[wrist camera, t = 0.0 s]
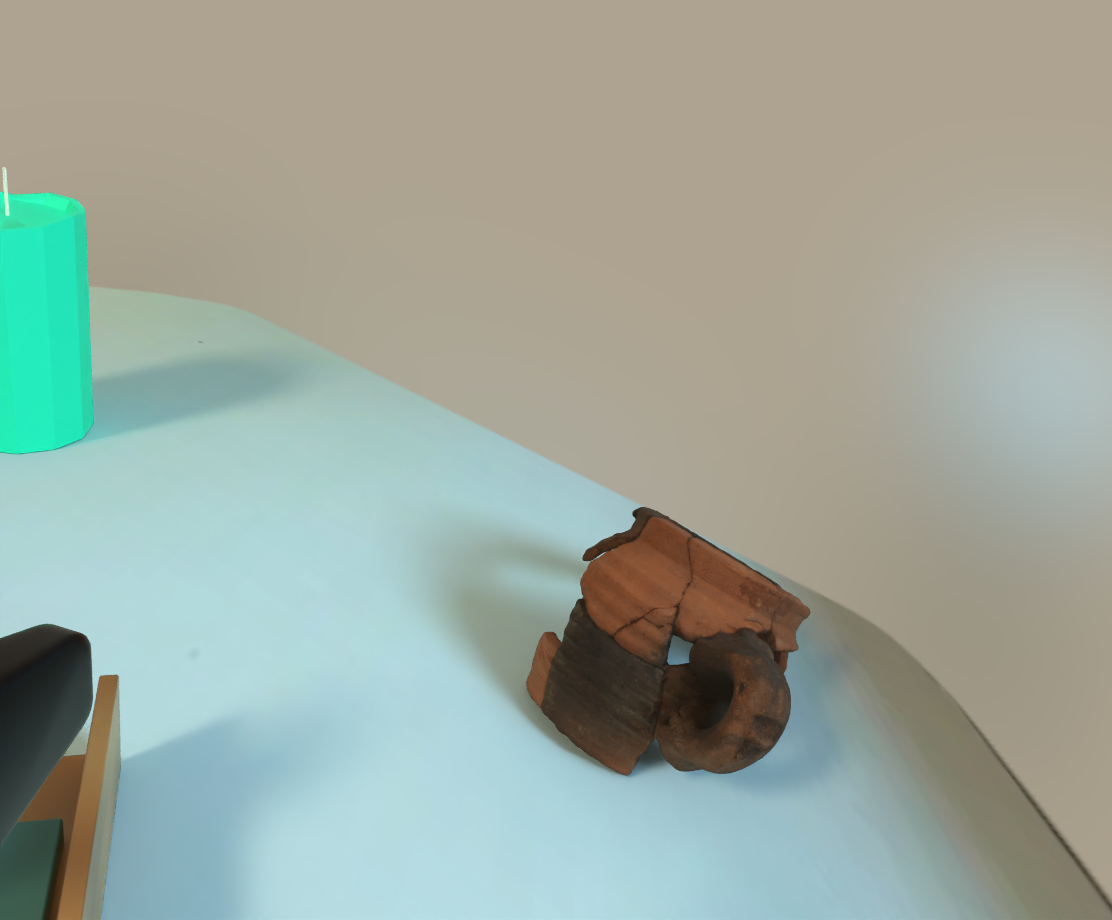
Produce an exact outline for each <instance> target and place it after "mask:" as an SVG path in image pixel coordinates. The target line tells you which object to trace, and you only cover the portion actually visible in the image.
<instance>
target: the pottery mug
mask: <svg viewBox="0 0 1112 920" xmlns="http://www.w3.org/2000/svg"><path fill="white" fill-rule="evenodd" d="M632 514H633V516H634V517H635V519H636V520H635V522H634V524H633V525H632V527H631V529H630V530H628V531H625V532H623V533H616V534H614V535H613V536H611V537H609V538H606V539H603V540H601V541H600V542H599V543H597V544H596V545H595V546H593V547H591V548H589V549H587V550H586V552H585V554H584V555H583V558H582V559H583V561H591V560H593V559H595V558H596V557H597V556H599V555H601V554H602V553H604V552H606V553H604V554H603V555H602V556H600V557H599V558H597V559H595V560H593V561H591V562H590V564H589V565H588V568H587V570H586V572H585V573H584V574H583V577H582V578H581V581H580V585H581V590H582V594H583V598H582V599H578V600H577V602H576V605H575V607H574V609H573V610H572V612H571V614H570V620H569V623H568V625H567V627H566V628H565V631H564V637H563V641H562V643H561V641H560V640H559V639H558V638H557V636H556V634H555V633H554V632H545V633H544V634H543V635H542V637H541V639H540V641H539V643H538V646H537V649H536V653H535V656H534V660H533V663H532V669H531V672H530V674H529V676H528V679H527V681H526V684H527V689H528V692H529V693H530V695H531V698H532V699H533V700H534V701H535V702H536V703H537V705H538V706H539V707H540V708H541V709H542V711H543V713H544V714H545V715H546V716H547V717H548V718H549V719H550V720H551V721H552V722H553V723H554V724H555V726H556V728H557V729H558V730H559V731H560V732H561V733H562V734H564V735H566V736H567V737H568V738H569V739H570V740H571V741H572V742H573V743H574V744H575V745H576V746H577V747H579V748H581V749H582V750H583V751H584V752H585V753H587V754H588V755H590V756H591V757H593V758H595V759H597V760H598V761H600V762H601V763H602V764H604V765H606V766H607V767H609V768H611V769H613V770H615V771H616V772H618V773H620V774H622V775H629V774H630V773H631V772H632V770H633V769H634V767H635V765H636V763H637V761H638V759H639V757H640V755H641V754H643V753H645V752H646V750H647V749H648V747H649V745H650V744H651V743H652V742H653V741H654V740H655V739H657V741H658V743H659V747H660V749H661V751H662V754H663V756H664V758H665V759H666V761H667V762H668V763H670V764H671V765H672V766H673V767H674V768H675V769H677V770H679V771H688V772H689V771H695V770H701V769H703V770H705V771H708V772H712V773H716V774H726V773H732V772H736V771H738V770H741V769H743V768H745V767H747V766H749V765H751V764H753V763H755V762H756V761H758V760H760V759H761V758H763V757H764V756H765V755H766V754H767V753H768V752H769V751H770V750H771V749H772V748H773V747H774V746H775V744H776V743H777V741H778V740H779V738H780V737H781V735H782V733H783V731H784V730H785V727H786V724H787V722H788V719H789V715H790V709H791V695H790V689H789V686H788V684H787V681H786V679H785V676H784V672H785V671H786V668H787V659H788V652H794V651H797V650H798V644H797V642H796V630H797V629H798V627H799V626H800V624H801V622H802V621H803V620H804V619H806V618H807V617H808V616H809V615H810V610H809V608H808V607H807V606H805V605H804V604H803V603H802V602H801V601H800V599H798V598H797V597H795V596H793V595H792V594H790V593H789V592H787V591H785V590H783V589H782V588H781V587H780V586H779V585H778V584H777V583H775V582H774V581H772V580H771V579H769V578H767V577H766V576H764V575H763V574H761V573H760V572H758V571H755V570H753V569H752V568H750V567H749V566H748V565H746V564H745V563H744V562H742V561H740V560H738V559H736V558H735V557H733V556H732V555H730V554H728V553H727V552H725V551H723V550H721V549H719V548H718V547H716V546H715V545H713V544H712V543H710V542H708V541H706V540H705V539H704V538H702V537H700V536H698V535H697V534H696V533H693V532H691V531H690V530H688V529H687V528H685V527H683V526H682V525H680V524H679V523H677V522H675V521H674V520H671V519H670V518H669V517H668V516H665V515H663V514H661V513H659V512H658V511H655V510H652V509H650V508H646V507H640V508H638V509H636V510H634V511H633V513H632ZM615 548H616V549H615ZM612 549H614V550H612ZM607 551H608V552H607ZM673 635H675V636H678V637H680V638H681V639H683V640H684V641H687V642H691V643H693V644H694V645H693V647H692V648H691V650H690V654H689V663H685V664H679V665H669V664H668V662H667V657H668V651H669V648H670V643H671V638H672V636H673Z"/></svg>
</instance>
